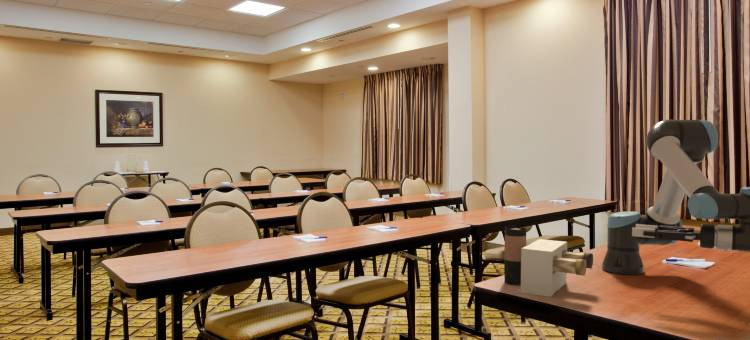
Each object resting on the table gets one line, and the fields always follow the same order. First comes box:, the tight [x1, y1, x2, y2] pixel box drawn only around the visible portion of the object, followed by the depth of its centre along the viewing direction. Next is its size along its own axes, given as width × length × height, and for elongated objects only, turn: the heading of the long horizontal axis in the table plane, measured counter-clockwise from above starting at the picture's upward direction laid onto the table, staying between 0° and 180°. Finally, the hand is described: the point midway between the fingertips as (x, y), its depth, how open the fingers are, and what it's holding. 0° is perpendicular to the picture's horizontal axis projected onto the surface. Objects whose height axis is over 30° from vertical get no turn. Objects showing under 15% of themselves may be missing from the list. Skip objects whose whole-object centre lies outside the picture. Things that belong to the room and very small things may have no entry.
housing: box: [520, 238, 568, 298], centre depth 186 cm, size 10×22×15 cm, turn 148°
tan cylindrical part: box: [562, 251, 594, 270], centre depth 187 cm, size 13×5×5 cm, turn 58°
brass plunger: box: [553, 257, 587, 277], centre depth 177 cm, size 13×5×5 cm, turn 58°
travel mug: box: [503, 226, 527, 286], centre depth 192 cm, size 8×8×20 cm
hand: (634, 229), depth 176 cm, fingers open, 8 cm apart
